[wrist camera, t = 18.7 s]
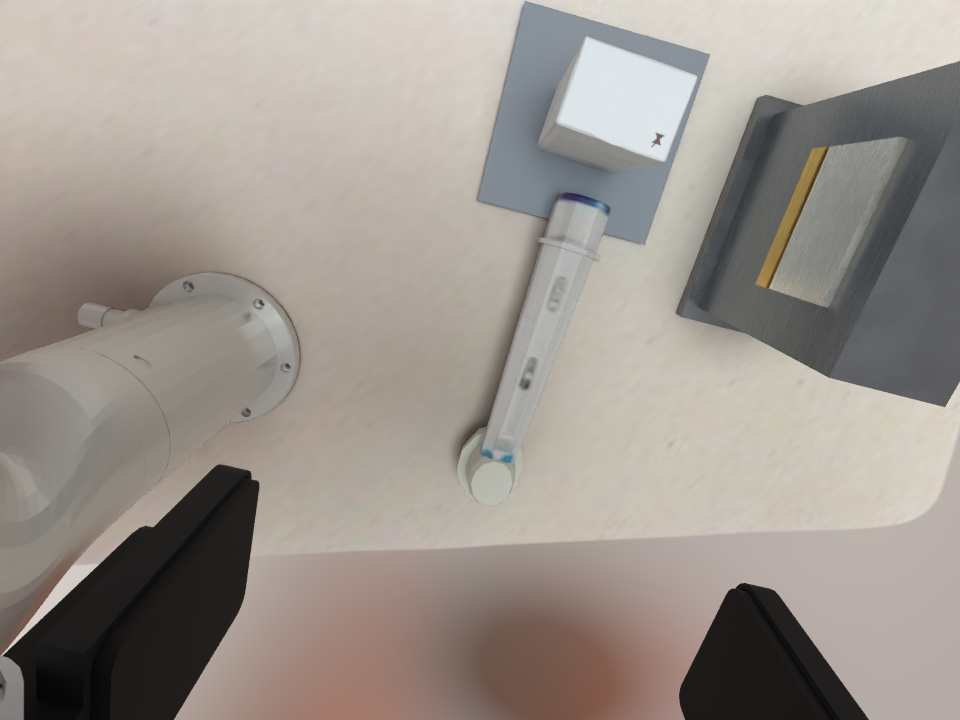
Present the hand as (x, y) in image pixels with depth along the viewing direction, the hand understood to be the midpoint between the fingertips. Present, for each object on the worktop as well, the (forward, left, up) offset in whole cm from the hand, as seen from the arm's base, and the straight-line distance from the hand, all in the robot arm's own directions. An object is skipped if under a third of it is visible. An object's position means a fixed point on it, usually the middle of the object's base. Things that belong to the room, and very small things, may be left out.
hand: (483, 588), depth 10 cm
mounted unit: (+19, +10, -32) cm, 39 cm away
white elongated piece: (+4, -4, -32) cm, 33 cm away
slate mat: (+4, +13, -32) cm, 35 cm away
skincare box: (+4, +13, -32) cm, 34 cm away
